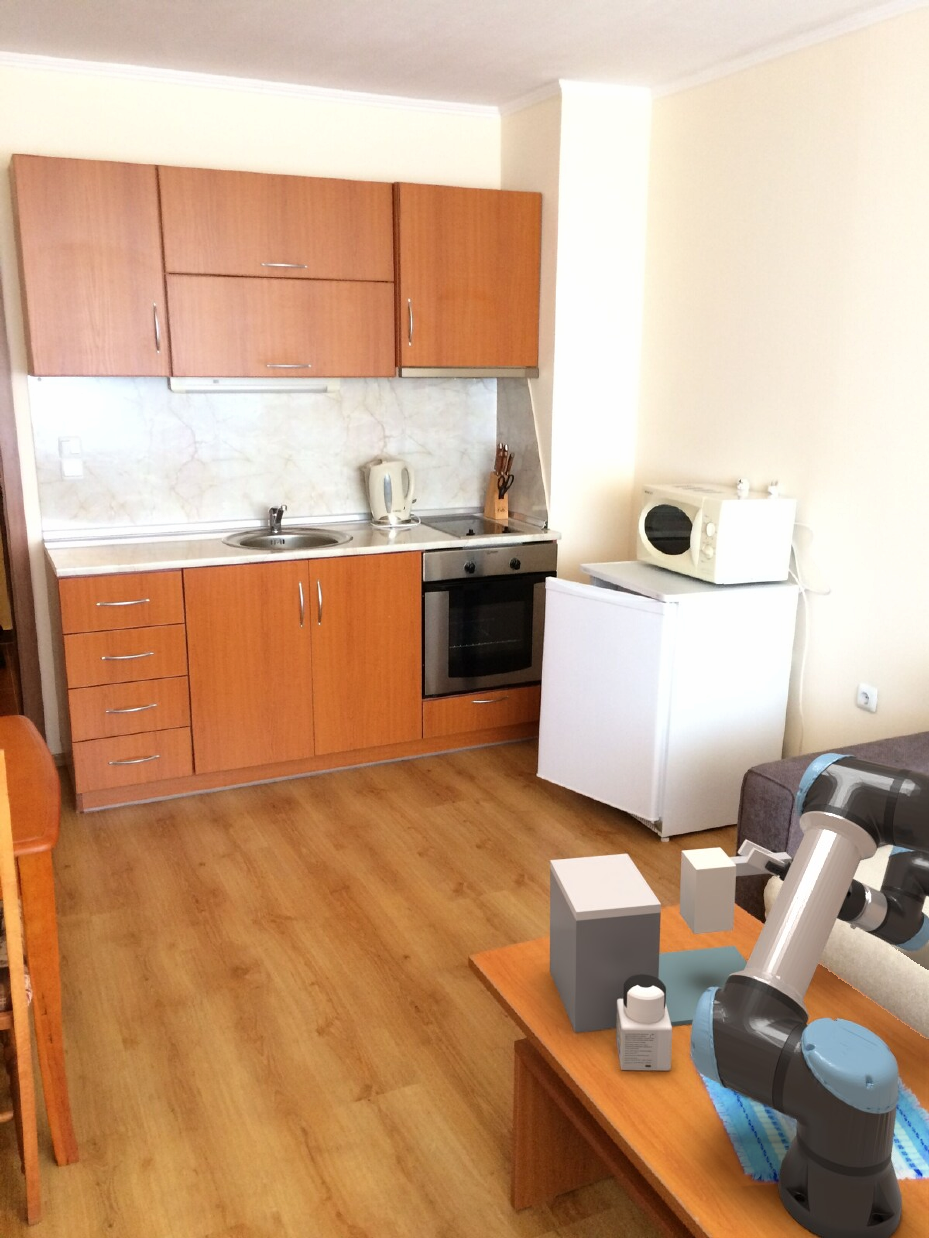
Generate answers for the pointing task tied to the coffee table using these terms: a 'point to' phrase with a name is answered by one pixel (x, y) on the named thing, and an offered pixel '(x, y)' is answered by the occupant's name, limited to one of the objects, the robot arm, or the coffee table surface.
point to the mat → (695, 977)
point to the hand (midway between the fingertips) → (746, 850)
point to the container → (643, 1025)
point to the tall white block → (713, 887)
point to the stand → (600, 935)
